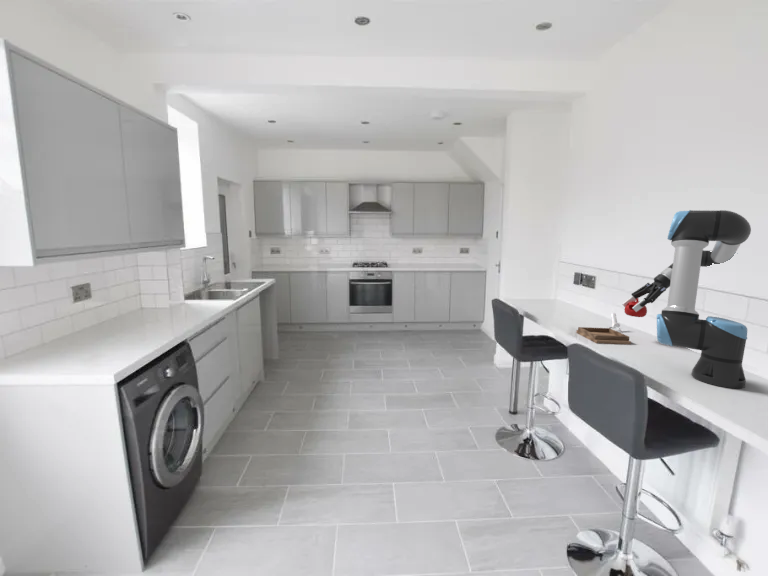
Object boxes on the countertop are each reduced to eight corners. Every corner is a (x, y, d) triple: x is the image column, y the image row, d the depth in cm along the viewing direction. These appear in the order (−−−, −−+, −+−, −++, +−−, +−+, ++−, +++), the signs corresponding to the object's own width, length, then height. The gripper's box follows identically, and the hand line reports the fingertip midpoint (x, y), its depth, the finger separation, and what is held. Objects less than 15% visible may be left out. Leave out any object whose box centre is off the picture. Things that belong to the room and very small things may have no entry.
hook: (611, 318, 222) (620, 314, 216) (615, 337, 217) (625, 333, 211) (600, 316, 221) (610, 311, 215) (604, 335, 215) (614, 331, 209)
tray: (630, 344, 187) (631, 337, 187) (596, 343, 187) (597, 336, 187) (607, 333, 207) (608, 327, 206) (576, 332, 207) (576, 326, 207)
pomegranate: (638, 314, 199) (640, 297, 198) (650, 318, 189) (653, 300, 188) (619, 313, 200) (621, 296, 198) (630, 317, 190) (633, 299, 189)
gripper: (685, 287, 179) (645, 317, 184) (658, 281, 201) (623, 309, 206) (675, 275, 179) (635, 306, 184) (648, 271, 201) (614, 299, 205)
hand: (629, 308), depth 195 cm, fingers closed on pomegranate, 10 cm apart
